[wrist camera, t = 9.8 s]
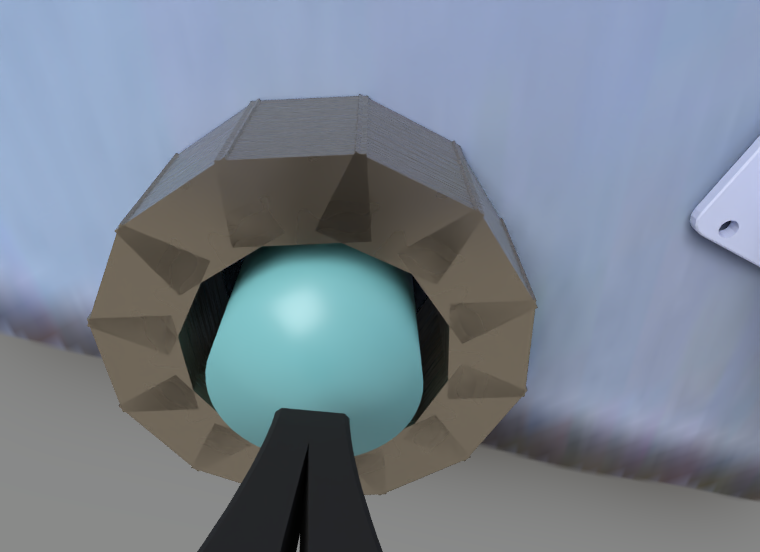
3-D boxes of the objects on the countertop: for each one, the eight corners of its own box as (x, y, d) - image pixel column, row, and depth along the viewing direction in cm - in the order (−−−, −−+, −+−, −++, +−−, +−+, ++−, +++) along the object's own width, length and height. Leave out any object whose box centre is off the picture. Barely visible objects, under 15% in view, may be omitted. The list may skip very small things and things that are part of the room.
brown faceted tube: (572, 202, 16) (626, 281, 13) (397, 432, 21) (402, 534, 17) (220, 18, 13) (169, 56, 10) (112, 329, 18) (53, 426, 15)
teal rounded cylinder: (440, 235, 17) (463, 348, 12) (367, 353, 19) (365, 481, 15) (282, 165, 15) (248, 263, 11) (224, 299, 18) (179, 422, 13)
